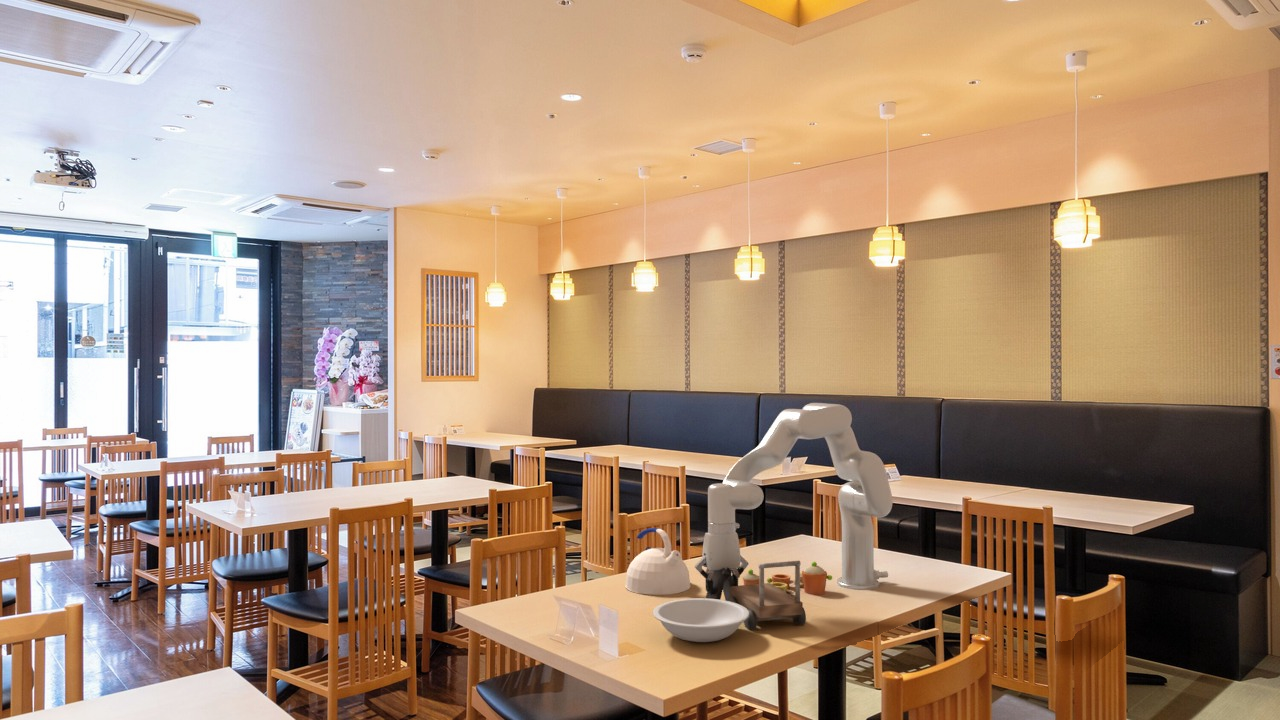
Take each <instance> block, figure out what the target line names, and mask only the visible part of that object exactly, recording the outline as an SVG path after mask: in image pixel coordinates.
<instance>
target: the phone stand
mask: <svg viewBox="0 0 1280 720" xmlns="http://www.w3.org/2000/svg"><path fill="white" fill-rule="evenodd" d="M731 576H732V573H731V570H730V569H729V568H727V570H725V568H722V569H721V570H715V571H714V573H713V576H712V580H713V595H710V594H709V593H707V592H706V596H705V598H708V599H719V600H722V594H723V596H724V600H725V601H727V599H728V598H730V586H734V585H733V582H732V579H731Z"/></svg>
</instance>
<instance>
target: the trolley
mask: <svg viewBox="0 0 1280 720" xmlns="http://www.w3.org/2000/svg"><path fill="white" fill-rule="evenodd" d="M783 567H794V580H795V583H794V585H795V586H794V596H795V597H794V596H792V594H791V595H789V594H787V593H786V592H784V591H782V590H781V589H779V588H777V587H775V586H774V585H772V584H770V583H768V582H766V583H765V569H772V568H783ZM758 573H759V574H758V576H759V584H753V585H744V584H743V585H738V586H730V598H728V599H727V601H730V602H733V603H737V604H739V605H742V606H743V607H745V608H746V609H747V610H748V611H749V617H748V618H747V619H746V620H745V621H743V623H744V627H745V628H746V629H747V630H748V631H754V630H756V629H757V625H758V623H757V622H765V621H775V620H776V621H777V620H785V619H792V620H793V623H795V624H796V625H798V626H803V625H805V624H806V620H807V617H806V616H807V614H806V610H805V608H804V606H803V602H802V601H801V587H800V573H801V561H800V560H788V561H778V562H764V563H758Z"/></svg>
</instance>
